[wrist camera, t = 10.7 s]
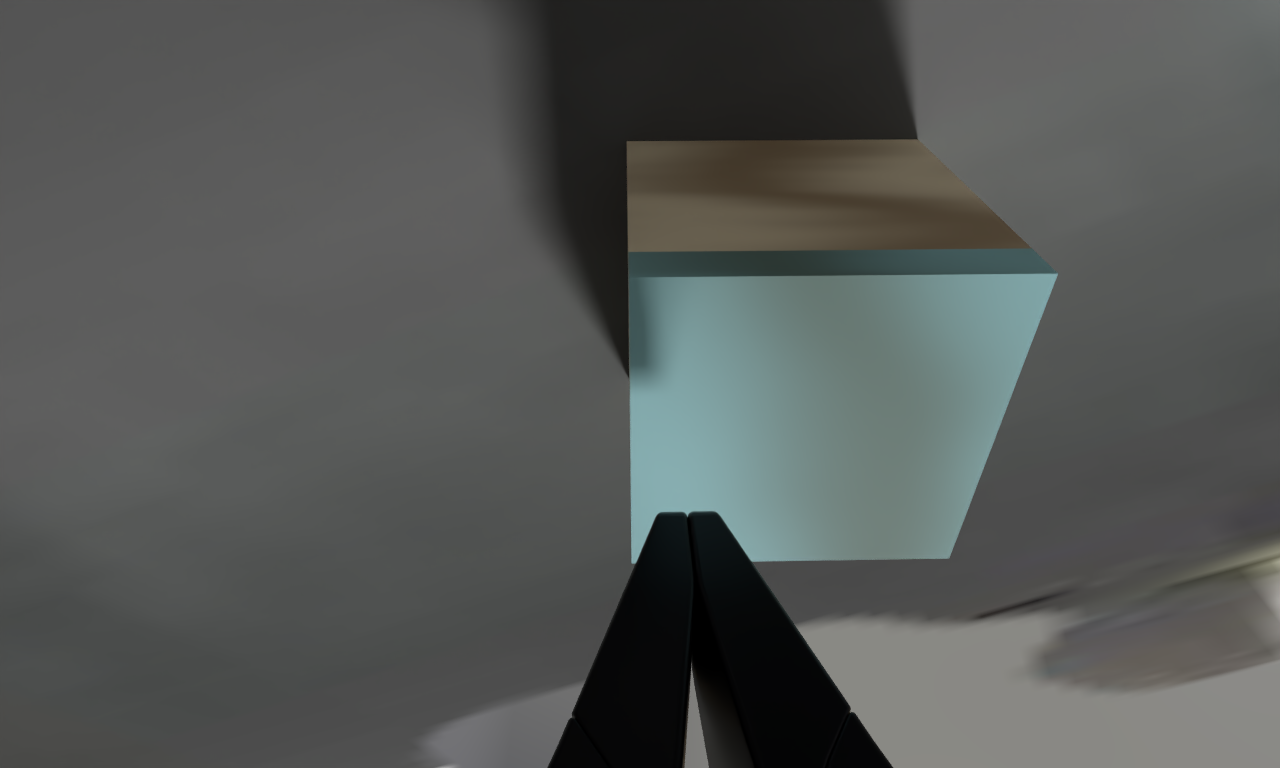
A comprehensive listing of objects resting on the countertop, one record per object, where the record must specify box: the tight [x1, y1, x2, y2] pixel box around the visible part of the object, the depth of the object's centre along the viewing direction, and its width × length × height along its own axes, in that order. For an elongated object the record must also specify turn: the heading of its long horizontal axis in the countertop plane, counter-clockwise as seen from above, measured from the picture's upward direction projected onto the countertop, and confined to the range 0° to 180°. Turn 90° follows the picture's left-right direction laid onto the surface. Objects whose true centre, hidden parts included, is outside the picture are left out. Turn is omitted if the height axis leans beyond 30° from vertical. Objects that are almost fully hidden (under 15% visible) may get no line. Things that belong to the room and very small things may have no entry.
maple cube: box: [627, 139, 1058, 563], centre depth 14 cm, size 6×6×6 cm
